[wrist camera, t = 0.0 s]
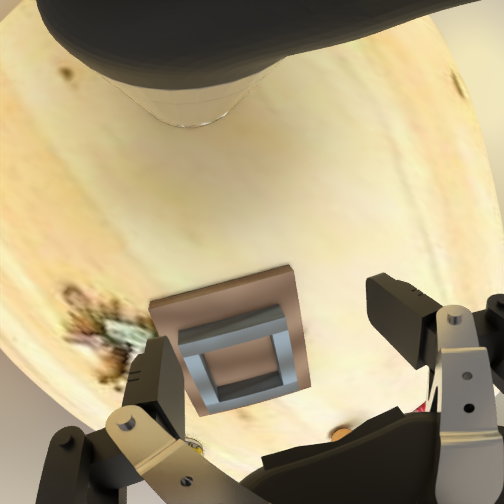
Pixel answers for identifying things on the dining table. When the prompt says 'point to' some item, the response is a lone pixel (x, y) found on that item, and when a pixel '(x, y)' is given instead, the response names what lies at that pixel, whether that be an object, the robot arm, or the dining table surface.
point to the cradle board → (237, 340)
